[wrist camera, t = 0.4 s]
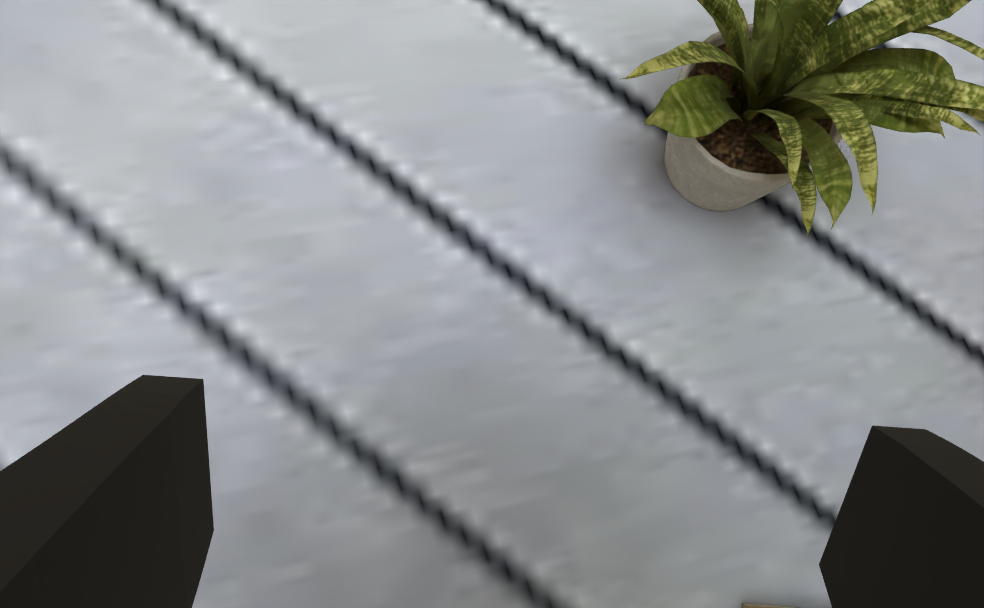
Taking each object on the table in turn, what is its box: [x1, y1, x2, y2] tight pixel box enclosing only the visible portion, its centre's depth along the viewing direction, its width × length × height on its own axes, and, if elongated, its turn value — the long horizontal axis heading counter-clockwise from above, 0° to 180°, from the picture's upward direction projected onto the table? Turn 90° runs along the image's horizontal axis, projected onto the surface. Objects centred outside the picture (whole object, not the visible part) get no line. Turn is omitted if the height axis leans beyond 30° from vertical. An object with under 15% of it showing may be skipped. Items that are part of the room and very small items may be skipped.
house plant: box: [622, 0, 984, 237], centre depth 31 cm, size 14×14×16 cm
